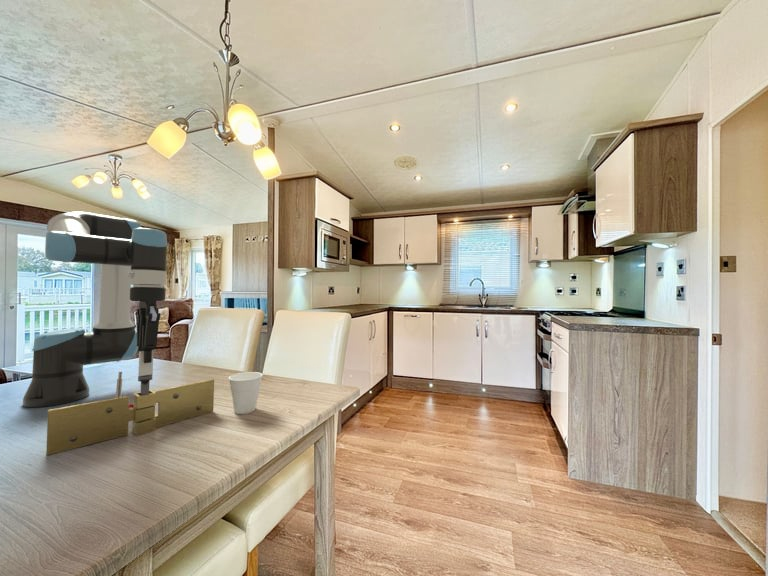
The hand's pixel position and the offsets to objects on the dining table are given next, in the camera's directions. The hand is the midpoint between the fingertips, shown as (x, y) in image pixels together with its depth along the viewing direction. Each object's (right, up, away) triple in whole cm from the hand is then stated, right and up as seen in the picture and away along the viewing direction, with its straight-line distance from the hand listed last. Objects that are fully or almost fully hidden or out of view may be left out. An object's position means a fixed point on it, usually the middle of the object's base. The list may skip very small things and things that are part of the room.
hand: (145, 374), depth 80 cm
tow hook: (-15, -15, +13) cm, 25 cm away
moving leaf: (-6, -15, -6) cm, 17 cm away
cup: (+20, -16, +14) cm, 29 cm away
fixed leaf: (+4, -15, +6) cm, 17 cm away
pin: (0, -12, 0) cm, 12 cm away
